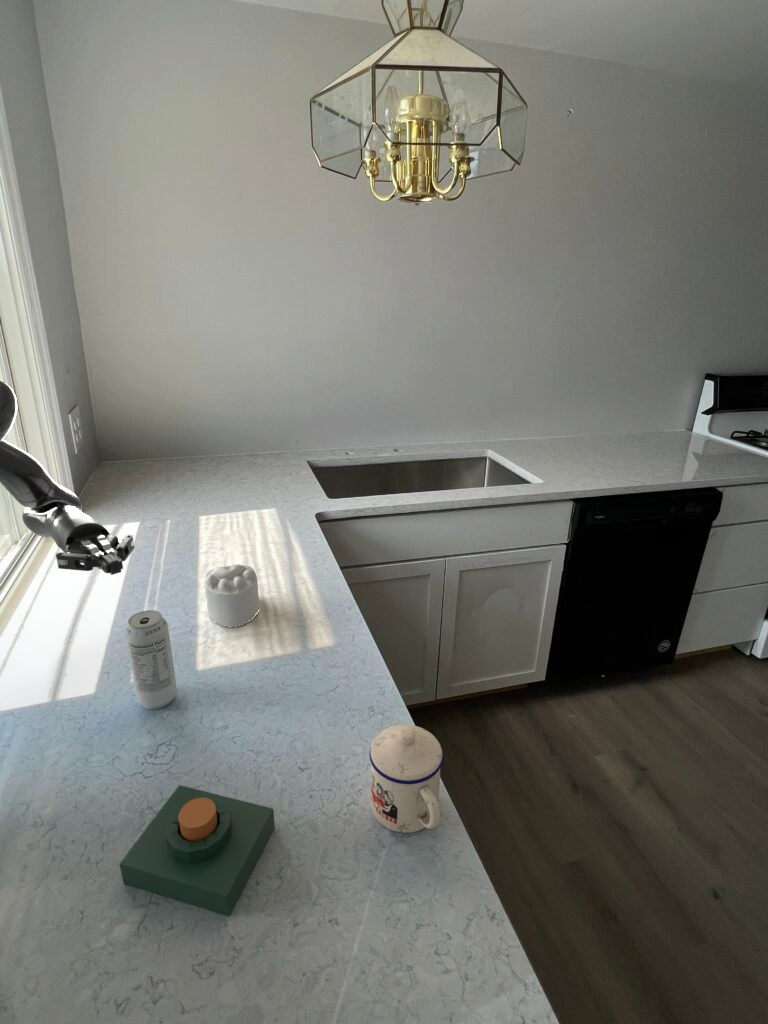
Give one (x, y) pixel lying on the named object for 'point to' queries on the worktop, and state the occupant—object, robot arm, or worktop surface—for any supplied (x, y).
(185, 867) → the button base
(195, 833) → the orange round push button
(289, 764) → the worktop surface
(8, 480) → the robot arm
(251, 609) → the lumpy-topped squat cylinder
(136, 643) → the energy drink can
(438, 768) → the teacup with lid
